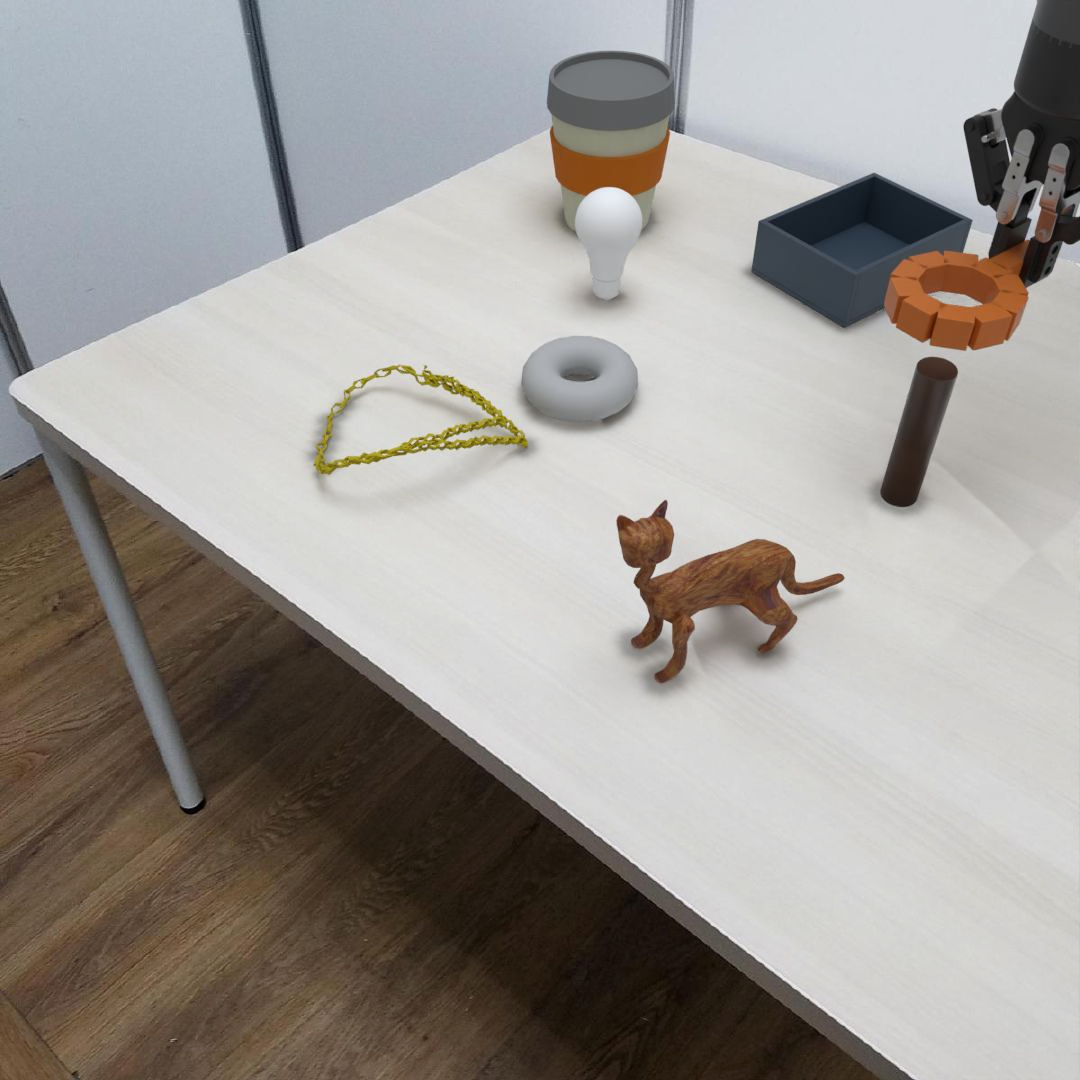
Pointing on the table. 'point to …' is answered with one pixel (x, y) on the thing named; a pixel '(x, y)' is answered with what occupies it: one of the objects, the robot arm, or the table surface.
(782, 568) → the cat figurine
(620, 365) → the donut
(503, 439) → the decorative chain
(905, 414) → the post
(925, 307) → the ring
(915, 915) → the table surface
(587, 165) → the reusable coffee cup
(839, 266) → the bin
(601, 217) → the lightbulb
